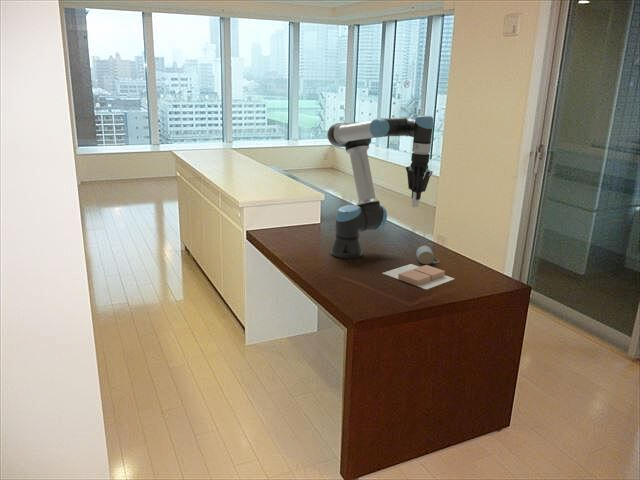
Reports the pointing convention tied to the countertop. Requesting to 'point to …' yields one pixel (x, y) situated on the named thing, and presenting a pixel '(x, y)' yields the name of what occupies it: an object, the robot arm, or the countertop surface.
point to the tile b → (430, 271)
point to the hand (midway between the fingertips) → (415, 206)
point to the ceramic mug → (425, 255)
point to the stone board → (426, 285)
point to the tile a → (414, 277)
